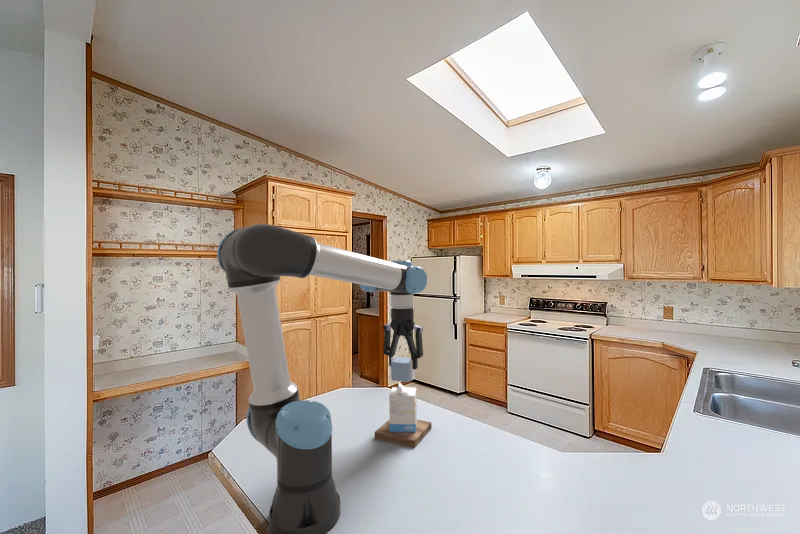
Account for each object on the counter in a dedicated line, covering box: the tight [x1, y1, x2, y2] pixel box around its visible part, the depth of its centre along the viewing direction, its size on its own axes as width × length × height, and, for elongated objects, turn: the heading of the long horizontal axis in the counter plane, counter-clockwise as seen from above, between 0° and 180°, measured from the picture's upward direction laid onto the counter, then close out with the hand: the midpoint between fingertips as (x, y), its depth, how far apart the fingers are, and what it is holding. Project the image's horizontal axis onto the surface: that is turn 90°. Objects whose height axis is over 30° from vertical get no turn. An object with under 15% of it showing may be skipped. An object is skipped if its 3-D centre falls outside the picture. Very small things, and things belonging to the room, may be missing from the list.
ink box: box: [388, 382, 418, 432], centre depth 116 cm, size 9×8×13 cm
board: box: [374, 418, 432, 448], centre depth 115 cm, size 14×14×2 cm
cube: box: [390, 356, 417, 383], centre depth 116 cm, size 6×6×6 cm
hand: (403, 377), depth 116 cm, fingers closed on cube, 6 cm apart
